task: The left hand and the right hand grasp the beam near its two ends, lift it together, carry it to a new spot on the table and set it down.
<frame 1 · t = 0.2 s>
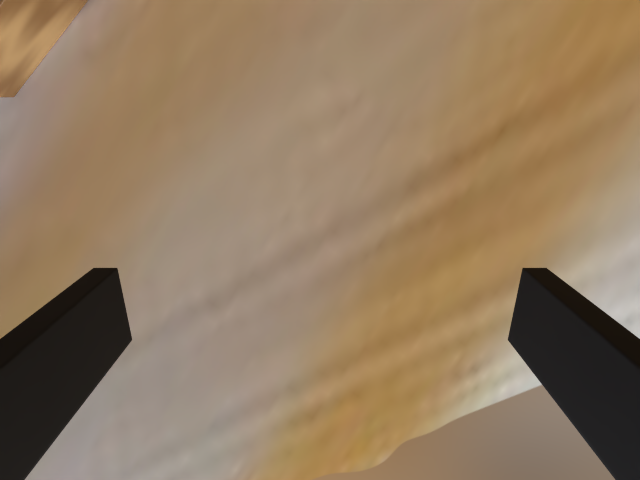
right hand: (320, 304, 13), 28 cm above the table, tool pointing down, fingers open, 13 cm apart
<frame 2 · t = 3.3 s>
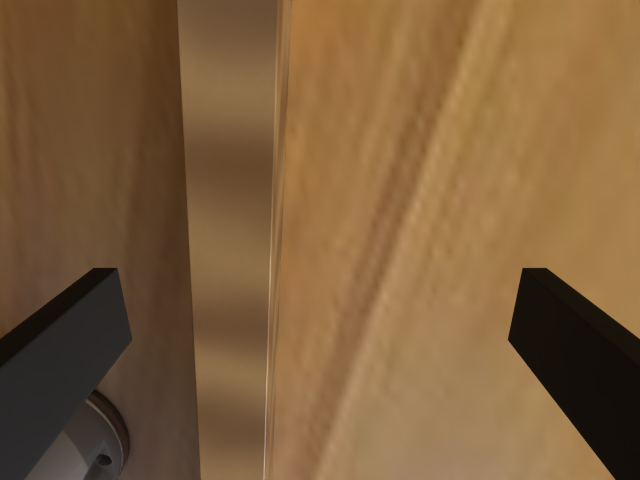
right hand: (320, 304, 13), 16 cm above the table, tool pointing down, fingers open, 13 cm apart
beam: (249, 446, 36), on the table, touching left hand
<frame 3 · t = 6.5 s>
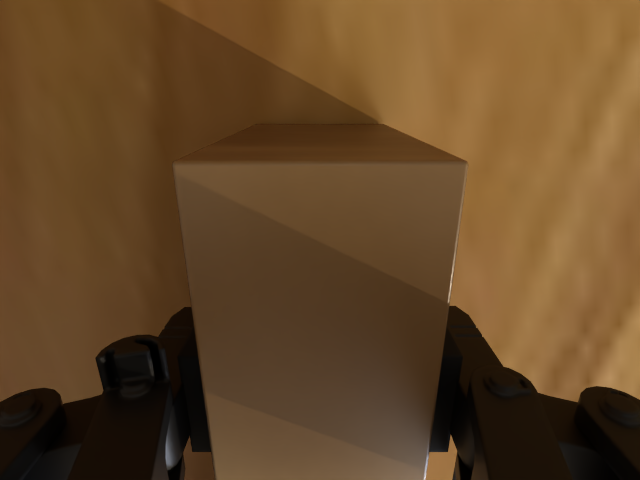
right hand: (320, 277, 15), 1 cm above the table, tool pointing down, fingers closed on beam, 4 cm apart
when the left hand's fingers open (2 cm above the table, at t = 10.9 s): beam drops 1 cm, on the table.
when the right hand's fingers open (2 cm above the table, at t = 10.9 s): beam drops 1 cm, on the table.
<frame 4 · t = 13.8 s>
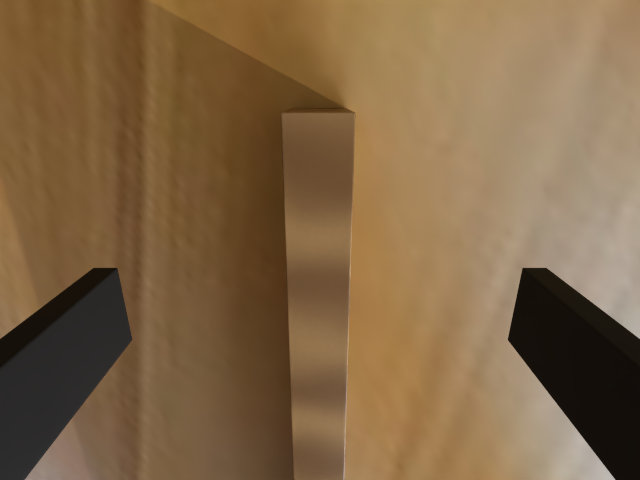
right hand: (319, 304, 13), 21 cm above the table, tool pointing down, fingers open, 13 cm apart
beam: (319, 469, 44), on the table
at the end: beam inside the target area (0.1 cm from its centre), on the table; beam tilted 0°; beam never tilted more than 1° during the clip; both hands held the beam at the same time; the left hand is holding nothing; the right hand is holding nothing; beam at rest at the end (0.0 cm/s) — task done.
